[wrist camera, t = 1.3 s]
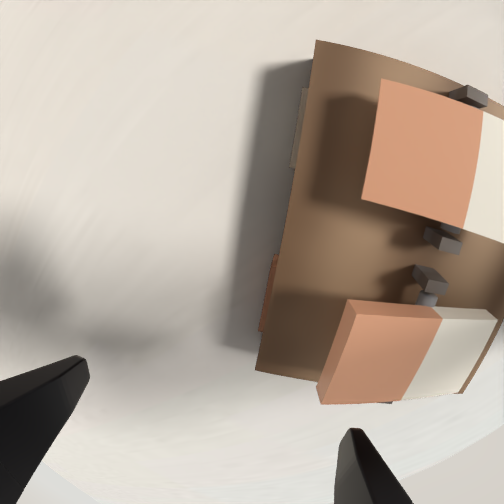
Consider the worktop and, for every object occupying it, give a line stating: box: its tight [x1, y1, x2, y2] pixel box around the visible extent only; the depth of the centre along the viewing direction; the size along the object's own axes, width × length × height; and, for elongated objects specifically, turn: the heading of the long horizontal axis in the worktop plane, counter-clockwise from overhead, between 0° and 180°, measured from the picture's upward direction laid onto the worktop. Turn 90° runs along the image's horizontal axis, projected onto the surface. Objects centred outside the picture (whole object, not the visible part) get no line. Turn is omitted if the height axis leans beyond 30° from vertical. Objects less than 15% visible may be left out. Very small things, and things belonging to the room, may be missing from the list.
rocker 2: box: [316, 290, 498, 404], centre depth 13 cm, size 9×6×2 cm, turn 81°
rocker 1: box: [361, 78, 504, 243], centre depth 10 cm, size 9×6×2 cm, turn 81°
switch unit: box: [255, 40, 504, 404], centre depth 14 cm, size 15×18×5 cm
